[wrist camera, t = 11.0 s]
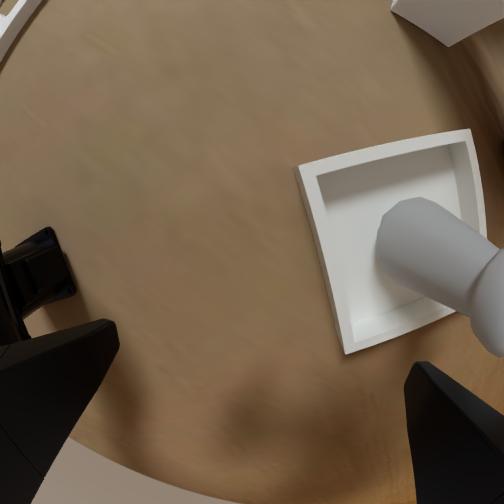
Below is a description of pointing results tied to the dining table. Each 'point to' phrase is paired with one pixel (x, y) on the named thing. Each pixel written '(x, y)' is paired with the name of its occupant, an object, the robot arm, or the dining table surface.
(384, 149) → the dish
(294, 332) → the dining table surface
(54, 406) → the robot arm
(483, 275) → the salt shaker
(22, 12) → the holder
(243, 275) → the dining table surface
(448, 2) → the milk
